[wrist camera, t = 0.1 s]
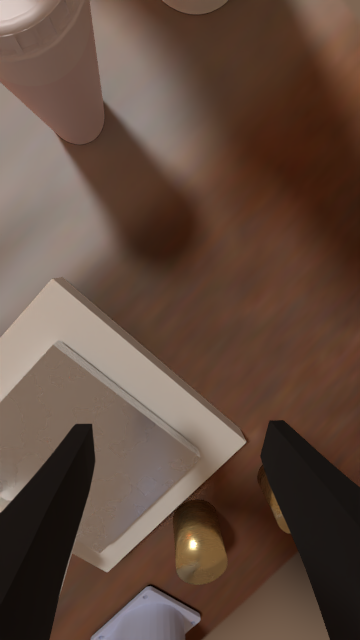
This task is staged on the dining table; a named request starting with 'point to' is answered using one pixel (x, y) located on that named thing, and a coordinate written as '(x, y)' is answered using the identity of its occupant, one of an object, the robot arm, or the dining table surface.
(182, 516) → the brass weight
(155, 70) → the dining table surface
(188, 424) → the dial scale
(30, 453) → the scale pan
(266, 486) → the brass weight
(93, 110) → the smoothie
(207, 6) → the cylindrical container
